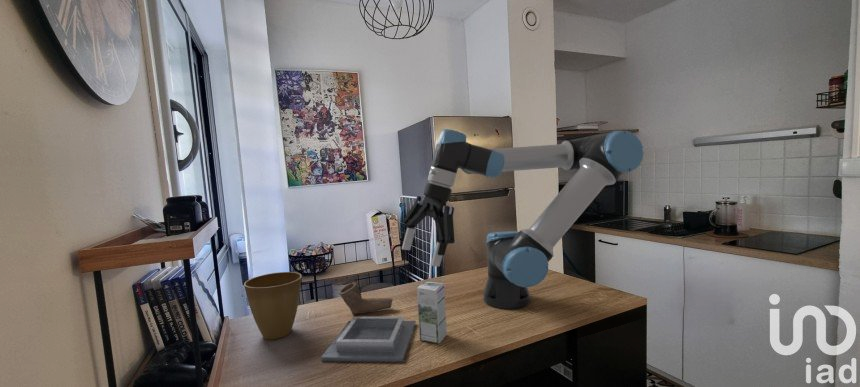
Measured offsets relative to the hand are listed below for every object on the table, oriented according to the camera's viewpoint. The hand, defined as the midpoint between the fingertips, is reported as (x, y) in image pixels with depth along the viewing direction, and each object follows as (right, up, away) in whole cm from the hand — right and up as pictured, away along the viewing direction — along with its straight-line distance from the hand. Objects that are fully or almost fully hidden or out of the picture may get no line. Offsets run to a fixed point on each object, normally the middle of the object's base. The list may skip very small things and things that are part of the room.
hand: (419, 257), depth 99 cm
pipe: (-17, -20, +13) cm, 30 cm away
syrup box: (+4, -21, -6) cm, 22 cm away
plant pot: (-41, -22, +1) cm, 46 cm away
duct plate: (-12, -21, -6) cm, 25 cm away
